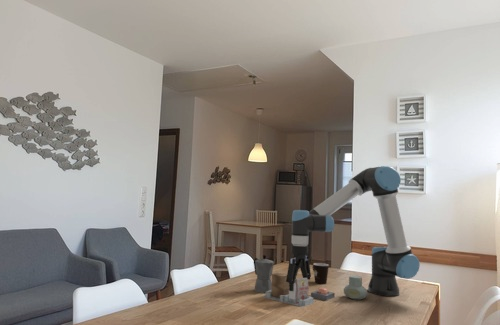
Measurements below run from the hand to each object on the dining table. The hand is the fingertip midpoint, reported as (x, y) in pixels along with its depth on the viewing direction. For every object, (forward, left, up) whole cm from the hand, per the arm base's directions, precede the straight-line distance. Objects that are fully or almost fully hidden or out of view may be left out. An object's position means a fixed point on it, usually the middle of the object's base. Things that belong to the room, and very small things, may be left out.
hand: (298, 296), depth 161 cm
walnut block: (+10, 0, -2) cm, 10 cm away
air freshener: (-14, -29, -3) cm, 32 cm away
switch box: (-4, -15, -3) cm, 16 cm away
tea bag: (0, 0, -2) cm, 2 cm away
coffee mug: (+14, -47, -3) cm, 49 cm away
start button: (-4, -15, -2) cm, 16 cm away
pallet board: (+5, 0, -3) cm, 6 cm away
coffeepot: (+23, -4, -3) cm, 23 cm away
